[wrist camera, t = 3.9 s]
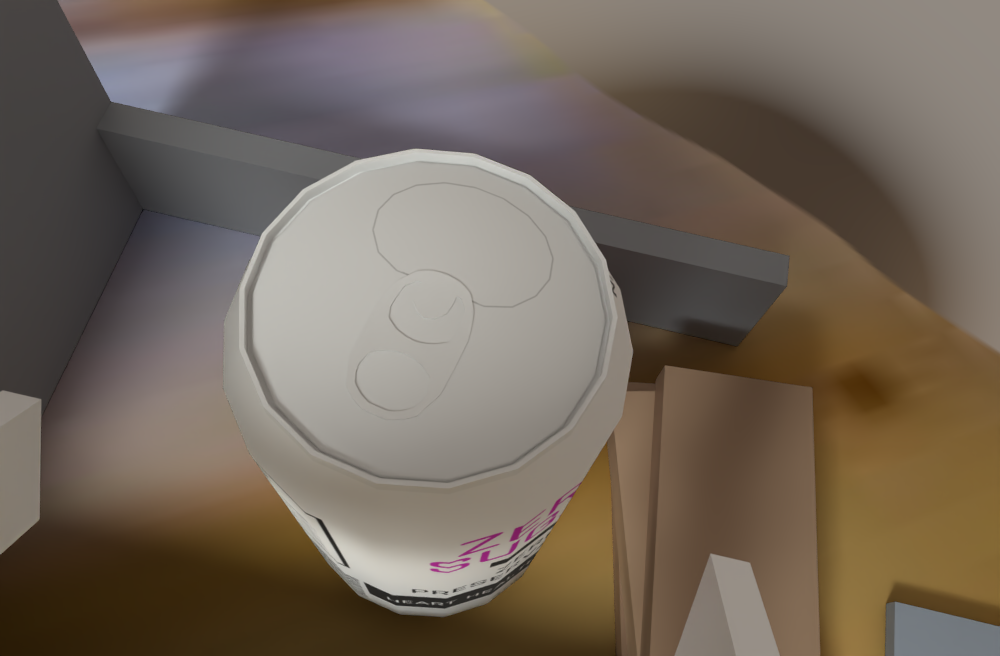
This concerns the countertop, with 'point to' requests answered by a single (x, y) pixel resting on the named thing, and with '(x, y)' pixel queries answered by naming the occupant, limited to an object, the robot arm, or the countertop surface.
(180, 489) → the countertop surface
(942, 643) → the slate mat
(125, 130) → the grey three-walled tray
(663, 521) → the walnut offcut stack
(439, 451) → the supplement can
